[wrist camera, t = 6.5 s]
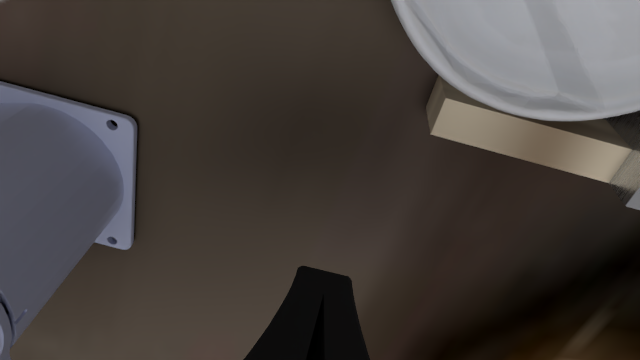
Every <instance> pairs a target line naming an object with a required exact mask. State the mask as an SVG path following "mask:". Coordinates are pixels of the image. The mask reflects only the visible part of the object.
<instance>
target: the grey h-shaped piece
mask: <svg viewBox="0 0 640 360" xmlns="http://www.w3.org/2000/svg"><path fill="white" fill-rule="evenodd" d="M606 121H607V122H608V123H609V124H610V125H611V126H612V127H613V129H614V130H615V131H616V132H617V133H618V134H619V135H620V136H621V138H622V139H623V140H624V141H625V142H626V143H627V144H628V145H629V147H630V148H631V149H632V150H631V152H630V153H629V155H628V156H627V158H626V159H625V160H624V162H623V163H622V165H621V166H620V168H619V169H618V170H617V172H616V173H615V175H614V176H613V178H612V179H611V180H610V182H609V184H610V185H611V187H612V188H613V190H614V191H615V192H616V194H617V195H618V197H619V198H620V199H621V201H622V202H623V204H624V205H625V206H627V207H631V208H634V209H638V210H640V110H639V111H636V112H632V113H628V114H623V115H620V116H613V117H608V118H606Z"/></svg>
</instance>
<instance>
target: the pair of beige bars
mask: <svg viewBox="0 0 640 360" xmlns="http://www.w3.org/2000/svg"><path fill="white" fill-rule="evenodd" d="M426 111H427V117H428V122H429V128H430V134H431V135H435V136H438V137H442V138H446V139H449V140H453V141H457V142H460V143H464V144H468V145H471V146H475V147H479V148H482V149H486V150H490V151H493V152H497V153H501V154H504V155H508V156H512V157H515V158H519V159H523V160H526V161H530V162H534V163H537V164H541V165H545V166H548V167H552V168H556V169H559V170H563V171H567V172H570V173H574V174H578V175H581V176H585V177H589V178H592V179H596V180H600V181H603V182H607V183H609V182H610V180H611V179H612V178H613V176H614V175H615V173H616V172H617V170H618V169H619V168H620V166H621V165H622V163H623V162H624V160H625V159H626V158H627V156H628V155H629V153H630V152H631V150H632V149H631V148H630V147H629V145H628V144H627V143H626V142H625V141H624V140H623V139H622V138H621V136H620V135H619V134H618V133H617V132H616V131H615V130H614V129H613V127H612V126H611V125H610V124H609V123H608V122H607V121H606V120H605V119H596V120H584V121H546V120H539V119H533V118H527V117H522V116H517V115H513V114H510V113H506V112H503V111H500V110H497V109H495V108H493V107H490V106H488V105H486V104H483V103H481V102H479V101H476V100H474V99H472V98H471V97H469V96H467V95H465V94H464V93H462V92H461V91H459V90H458V89H456V88H455V87H453V86H452V85H450V84H449V83H448V82H447V81H445V80H444V79H443V78H442V77H441V76H440V75H438V78H437V80H436V83H435V85H434V88H433V90H432V93H431V95H430V98H429V100H428V103H427V105H426Z"/></svg>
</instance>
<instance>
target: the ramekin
mask: <svg viewBox="0 0 640 360" xmlns="http://www.w3.org/2000/svg"><path fill="white" fill-rule="evenodd" d="M391 2H392V4H393V7H394V10H395V12H396V14H397V16H398V18H399V20H400V22H401V24H402V26H403V28H404V30H405V32H406V33H407V35H408V37H409V38H410V40H411V42H412V43H413V45H414V46H415V48H416V49H417V51H418V52H419V53H420V55H421V56H422V57H423V58H424V59H425V61H426V62H427V63H428V64H429V65H430V66H431V67H432V68H433V70H434V71H435V72H437V73H438V74H439V75H440V76H441V77H442V78H443V79H444V80H445V81H447V82H448V83H449V84H450V85H452V86H453V87H455V88H456V89H458V90H459V91H461V92H462V93H464V94H465V95H467V96H469V97H471V98H472V99H474V100H476V101H479V102H481V103H483V104H486V105H488V106H490V107H493V108H495V109H497V110H500V111H503V112H506V113H510V114H513V115H517V116H522V117H527V118H533V119H539V120H546V121H584V120H596V119H602V118H608V117H613V116H620V115H623V114H628V113H632V112H636V111H639V110H640V0H391Z"/></svg>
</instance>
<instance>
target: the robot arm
mask: <svg viewBox="0 0 640 360" xmlns="http://www.w3.org/2000/svg"><path fill="white" fill-rule="evenodd" d="M111 120H113V121H115V122H116V123H117V125H118V127H117V126H114V125H113V124H112V123H111ZM136 152H137V124H136V122H135V120H134V119H133V118H132V117H130V116H128V115H125V114H121V113H117V112H114V111H110V110H106V109H102V108H99V107H95V106H91V105H88V104H84V103H80V102H76V101H73V100H69V99H65V98H61V97H58V96H54V95H50V94H47V93H43V92H39V91H35V90H32V89H28V88H24V87H20V86H17V85H13V84H9V83H6V82H2V81H0V360H11V358H10V354H9V351H10V348H11V347H12V346H13V344H14V343H15V342H16V341H17V339H18V338H19V337H20V336H21V334H22V333H23V332H24V330H25V329H26V328H27V327H28V325H29V324H30V323H31V322H32V320H33V319H34V318H35V316H36V315H37V314H38V313H39V311H40V310H41V309H42V308H43V306H44V305H45V304H46V303H47V301H48V300H49V299H50V297H51V296H52V295H53V294H54V292H55V291H56V290H57V289H58V287H59V286H60V285H61V283H62V282H63V281H64V280H65V278H66V277H67V276H68V275H69V273H70V272H71V271H72V269H73V268H74V267H75V266H76V264H77V263H78V262H79V261H80V259H81V258H82V257H83V256H84V254H85V253H86V252H87V250H88V249H89V248H90V247H91V245H92V244H93V243H94V242H95V243H99V244H103V245H107V246H111V247H115V248H118V249H123V250H126V249H129V248H130V247H131V246H132V244H133V242H134V215H135V184H136ZM112 237H114V238H115V239H113V238H112ZM244 360H370V358H369V355H368V352H367V348H366V345H365V341H364V338H363V335H362V331H361V327H360V324H359V319H358V315H357V311H356V306H355V301H354V296H353V289H352V281H351V279H350V278H349V277H348V276H344V275H340V274H336V273H331V272H327V271H323V270H319V269H315V268H311V267H307V266H301V267H299V268H298V269H297V273H296V276H295V279H294V281H293V284H292V286H291V288H290V290H289V292H288V294H287V296H286V298H285V300H284V301H283V303H282V305H281V307H280V308H279V310H278V311H277V313H276V315H275V316H274V318H273V319H272V321H271V323H270V324H269V326H268V327H267V329H266V330H265V332H264V333H263V334H262V336H261V337H260V338H259V340H258V341H257V343H256V344H255V345H254V347H253V348H252V350H251V351H250V352H249V353H248V355H247V356H246V357H245V359H244Z"/></svg>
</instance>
